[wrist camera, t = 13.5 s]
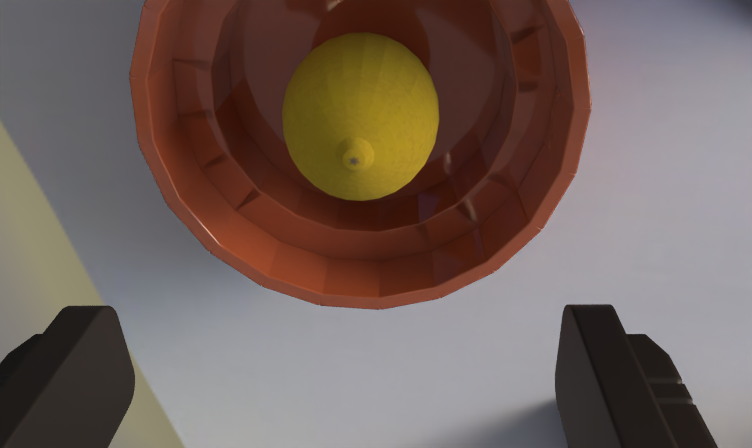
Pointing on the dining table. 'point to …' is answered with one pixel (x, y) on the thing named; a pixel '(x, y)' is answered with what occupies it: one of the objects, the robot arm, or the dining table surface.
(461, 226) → the bowl
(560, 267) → the dining table surface
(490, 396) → the dining table surface
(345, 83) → the lemon
